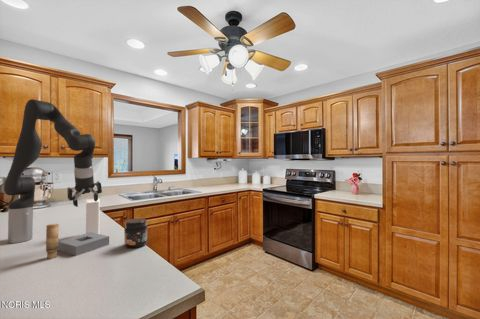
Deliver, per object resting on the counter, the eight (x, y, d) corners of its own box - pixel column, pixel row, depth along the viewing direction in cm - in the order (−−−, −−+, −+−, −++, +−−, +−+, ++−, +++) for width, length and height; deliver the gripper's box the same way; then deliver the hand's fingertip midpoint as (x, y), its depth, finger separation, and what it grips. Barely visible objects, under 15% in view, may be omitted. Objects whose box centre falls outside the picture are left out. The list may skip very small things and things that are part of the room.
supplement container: (118, 247, 108) (119, 222, 108) (136, 240, 118) (136, 217, 118) (135, 250, 104) (135, 224, 104) (152, 242, 114) (152, 219, 114)
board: (57, 249, 104) (57, 241, 104) (90, 239, 118) (90, 232, 118) (76, 255, 98) (76, 246, 98) (109, 244, 111) (109, 236, 111)
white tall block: (98, 235, 125) (99, 196, 125) (85, 237, 122) (86, 197, 122) (99, 232, 130) (99, 194, 130) (86, 234, 127) (87, 195, 127)
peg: (43, 258, 95) (44, 225, 95) (55, 254, 99) (55, 223, 99) (48, 260, 93) (49, 226, 93) (60, 256, 97) (60, 224, 97)
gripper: (97, 169, 116) (98, 196, 122) (63, 174, 105) (66, 204, 111) (103, 174, 112) (104, 202, 117) (69, 180, 101) (72, 211, 106)
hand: (86, 203), depth 114 cm, fingers open, 8 cm apart
